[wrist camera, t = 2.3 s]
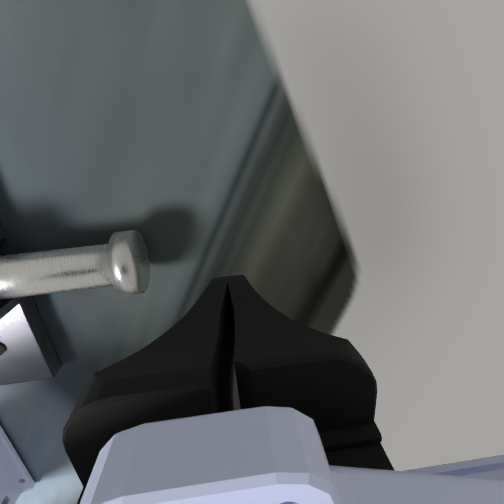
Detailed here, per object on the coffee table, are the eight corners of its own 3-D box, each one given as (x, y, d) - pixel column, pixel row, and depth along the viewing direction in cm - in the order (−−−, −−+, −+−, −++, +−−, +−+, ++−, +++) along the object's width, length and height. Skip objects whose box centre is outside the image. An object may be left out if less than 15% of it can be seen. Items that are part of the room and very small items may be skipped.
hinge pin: (140, 222, 18) (121, 242, 14) (153, 275, 19) (138, 305, 16) (-107, 249, 17) (-187, 277, 14) (-75, 302, 18) (-141, 340, 15)
